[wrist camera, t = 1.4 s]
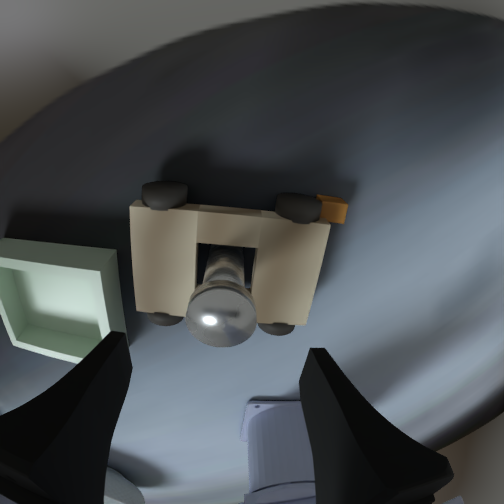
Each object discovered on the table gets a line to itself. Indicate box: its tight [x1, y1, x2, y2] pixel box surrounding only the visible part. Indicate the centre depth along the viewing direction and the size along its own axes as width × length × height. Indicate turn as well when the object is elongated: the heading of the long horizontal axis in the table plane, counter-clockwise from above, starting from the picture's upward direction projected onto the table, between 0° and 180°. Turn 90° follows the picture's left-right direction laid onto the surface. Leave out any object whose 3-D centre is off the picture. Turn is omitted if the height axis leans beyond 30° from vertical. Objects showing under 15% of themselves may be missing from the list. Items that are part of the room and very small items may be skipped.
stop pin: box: [186, 244, 257, 347], centre depth 17 cm, size 3×3×7 cm
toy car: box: [130, 181, 348, 336], centre depth 19 cm, size 12×9×3 cm
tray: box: [0, 238, 129, 363], centre depth 19 cm, size 11×9×3 cm
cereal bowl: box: [104, 467, 145, 504], centre depth 34 cm, size 17×17×7 cm
